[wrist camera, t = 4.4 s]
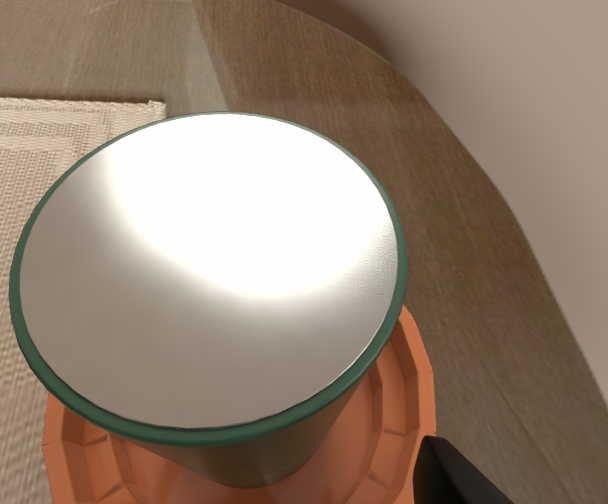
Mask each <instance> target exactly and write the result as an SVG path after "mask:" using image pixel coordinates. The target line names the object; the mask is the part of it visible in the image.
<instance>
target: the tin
mask: <svg viewBox="0 0 608 504" xmlns="http://www.w3.org/2000/svg"><path fill="white" fill-rule="evenodd" d="M407 278H408V255H407V245H406V240H405V236H404V231H403V227H402V224H401V221H400V218H399V216H398V213H397V211H396V208H395V206H394V204H393V202H392V200H391V199H390V197H389V195H388V193H387V191H386V190H385V188H384V187H383V186H382V184H381V183H380V182H379V180H378V179H377V178H376V176H375V175H374V174H373V173H372V172H371V171H370V170H369V168H368V167H367V166H366V165H365V164H364V163H363V162H362V161H361V160H360V159H358V158H357V157H356V156H355V155H353V154H352V153H351V152H350V151H349V150H347V149H346V148H345V147H343V146H341V145H340V144H338V143H337V142H335V141H334V140H332V139H331V138H329V137H327V136H325V135H323V134H321V133H319V132H317V131H315V130H313V129H311V128H308V127H305V126H303V125H300V124H298V123H295V122H292V121H288V120H285V119H281V118H278V117H273V116H267V115H262V114H256V113H246V112H226V111H216V112H202V113H193V114H187V115H180V116H175V117H171V118H167V119H163V120H159V121H155V122H152V123H149V124H147V125H144V126H141V127H138V128H135V129H133V130H131V131H128V132H126V133H124V134H122V135H119V136H117V137H115V138H113V139H112V140H110V141H108V142H106V143H105V144H103V145H101V146H99V147H97V148H96V149H95V150H93V151H92V152H90V153H89V154H87V155H86V156H84V157H83V158H82V159H80V160H79V161H78V162H77V163H75V164H74V165H73V166H72V167H71V168H70V169H68V170H67V171H66V172H65V173H64V174H63V175H62V176H61V177H60V178H59V179H58V180H57V181H56V182H55V183H54V184H53V185H52V186H51V187H50V188H49V190H48V191H47V192H46V193H45V195H44V196H43V197H42V199H41V200H40V202H39V203H38V204H37V206H36V207H35V208H34V210H33V212H32V214H31V215H30V217H29V219H28V221H27V223H26V224H25V226H24V228H23V231H22V233H21V236H20V238H19V241H18V243H17V246H16V248H15V252H14V257H13V261H12V265H11V270H10V281H9V303H10V313H11V321H12V324H13V328H14V331H15V335H16V338H17V341H18V345H19V347H20V349H21V351H22V353H23V355H24V357H25V359H26V361H27V363H28V365H29V366H30V368H31V370H32V371H33V372H34V374H35V375H36V376H37V378H38V379H39V380H40V381H41V383H42V384H43V385H44V387H45V388H46V389H47V390H48V391H49V392H50V393H51V394H52V395H53V396H54V397H55V398H56V399H58V400H59V401H60V402H61V403H62V404H63V405H64V406H65V407H66V408H67V409H69V410H70V411H72V412H74V413H75V414H77V415H78V416H80V417H81V418H83V419H85V420H86V421H88V422H89V423H91V424H92V425H94V426H96V427H99V428H101V429H103V430H105V431H107V432H109V433H111V434H114V435H116V436H118V437H120V438H122V439H124V440H127V441H129V442H131V443H133V444H135V445H137V446H139V447H142V448H144V449H146V450H148V451H150V452H152V453H154V454H157V455H159V456H161V457H163V458H165V459H167V460H170V461H172V462H174V463H176V464H178V465H180V466H182V467H185V468H187V469H189V470H191V471H193V472H195V473H197V474H200V475H202V476H204V477H206V478H208V479H210V480H213V481H215V482H217V483H220V484H222V485H225V486H229V487H233V488H243V489H249V488H260V487H264V486H269V485H272V484H274V483H277V482H280V481H282V480H283V479H285V478H287V477H289V476H291V475H292V474H293V473H295V472H296V471H297V470H299V469H300V468H301V467H302V466H303V465H304V464H305V463H306V462H307V461H308V460H309V459H310V458H311V456H312V455H313V454H314V453H315V451H316V450H317V448H318V447H319V445H320V444H321V442H322V441H323V439H324V438H325V436H326V435H327V433H328V432H329V430H330V429H331V427H332V426H333V424H334V423H335V421H336V420H337V418H338V417H339V415H340V414H341V412H342V411H343V409H344V408H345V406H346V405H347V403H348V402H349V400H350V399H351V397H352V396H353V394H354V393H355V391H356V390H357V388H358V387H359V385H360V384H361V382H362V381H363V379H364V378H365V376H366V375H367V373H368V372H369V370H370V369H371V367H372V366H373V364H374V363H375V361H376V360H377V358H378V357H379V355H380V353H381V352H382V350H383V348H384V347H385V345H386V343H387V342H388V340H389V338H390V337H391V335H392V333H393V330H394V328H395V326H396V323H397V321H398V318H399V316H400V313H401V310H402V306H403V302H404V298H405V294H406V290H407Z"/></svg>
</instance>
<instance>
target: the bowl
mask: <svg viewBox="0 0 608 504" xmlns="http://www.w3.org/2000/svg"><path fill="white" fill-rule="evenodd" d="M435 433H436V415H435V396H434V377H433V370H432V367H431V364H430V362H429V359H428V356H427V353H426V350H425V348H424V345H423V342H422V339H421V337H420V334H419V331H418V328H417V326H416V323H415V320H414V319H413V317H412V316H411V314H410V313H409V311H408V310H407V309H406V307H405V306H404V305H403V306H402V310H401V313H400V316H399V318H398V321H397V323H396V326H395V328H394V330H393V333H392V335H391V337H390V338H389V340H388V342H387V343H386V345H385V347H384V348H383V350H382V352H381V353H380V355H379V357H378V358H377V360H376V361H375V363H374V364H373V366H372V367H371V369H370V370H369V372H368V373H367V375H366V376H365V378H364V379H363V381H362V382H361V384H360V385H359V387H358V388H357V390H356V391H355V393H354V394H353V396H352V397H351V399H350V400H349V402H348V403H347V405H346V406H345V408H344V409H343V411H342V412H341V414H340V415H339V417H338V418H337V420H336V421H335V423H334V424H333V426H332V427H331V429H330V430H329V432H328V433H327V435H326V436H325V438H324V439H323V441H322V442H321V444H320V445H319V447H318V448H317V450H316V451H315V453H314V454H313V455H312V456H311V458H310V459H309V460H308V461H307V462H306V463H305V464H304V465H303V466H302V467H301V468H300V469H299V470H297V471H296V472H295V473H293V474H292V475H291V476H289V477H287V478H285V479H283V480H282V481H280V482H277V483H274V484H272V485H269V486H264V487H260V488H249V489H243V488H233V487H229V486H225V485H222V484H220V483H217V482H215V481H213V480H210V479H208V478H206V477H204V476H202V475H200V474H197V473H195V472H193V471H191V470H189V469H187V468H185V467H182V466H180V465H178V464H176V463H174V462H172V461H170V460H167V459H165V458H163V457H161V456H159V455H157V454H154V453H152V452H150V451H148V450H146V449H144V448H142V447H139V446H137V445H135V444H133V443H131V442H129V441H127V440H124V439H122V438H120V437H118V436H116V435H114V434H111V433H109V432H107V431H105V430H103V429H101V428H99V427H96V426H94V425H92V424H91V423H89V422H88V421H86V420H85V419H83V418H81V417H80V416H78V415H77V414H75V413H74V412H72V411H70V410H69V409H67V408H66V407H65V406H64V405H63V404H62V403H61V402H60V401H59V400H58V399H56V398H55V397H54V396H53V395H52V394H51V393H50V392H49V394H48V402H47V409H46V417H45V425H44V432H43V440H42V446H43V447H42V451H43V456H44V461H45V465H46V470H47V475H48V480H49V485H50V490H51V494H52V499H53V504H414V494H413V470H414V466H415V462H416V459H417V455H418V451H419V448H420V444H421V441H422V439H423V437H424V436H425V435H431V436H436V434H435Z"/></svg>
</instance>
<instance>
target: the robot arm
mask: <svg viewBox="0 0 608 504" xmlns="http://www.w3.org/2000/svg"><path fill="white" fill-rule="evenodd" d="M413 494H414V504H514V503H513V502H512V501H511V500H510V499H509V498H507V497H506V496H505V495H504V494H503V493H502V492H501V491H500V490H499V489H498V488H497V487H496V486H495V485H494V484H493V483H492V482H491V481H490V480H488V479H487V478H486V477H485V476H484V475H483V474H482V473H481V472H480V471H479V470H478V469H477V468H476V467H475V466H474V465H473V464H472V463H471V462H469V461H468V460H467V459H466V458H465V457H464V456H463V455H462V454H461V453H460V452H459V451H458V450H457V449H456V448H455V447H454V446H453V445H452V444H451V443H449V442H448V441H447V440H446V439H444V438H440V437H436V436H431V435H425V436H424V437H423V439H422V441H421V444H420V448H419V451H418V455H417V459H416V462H415V466H414V470H413Z"/></svg>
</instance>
